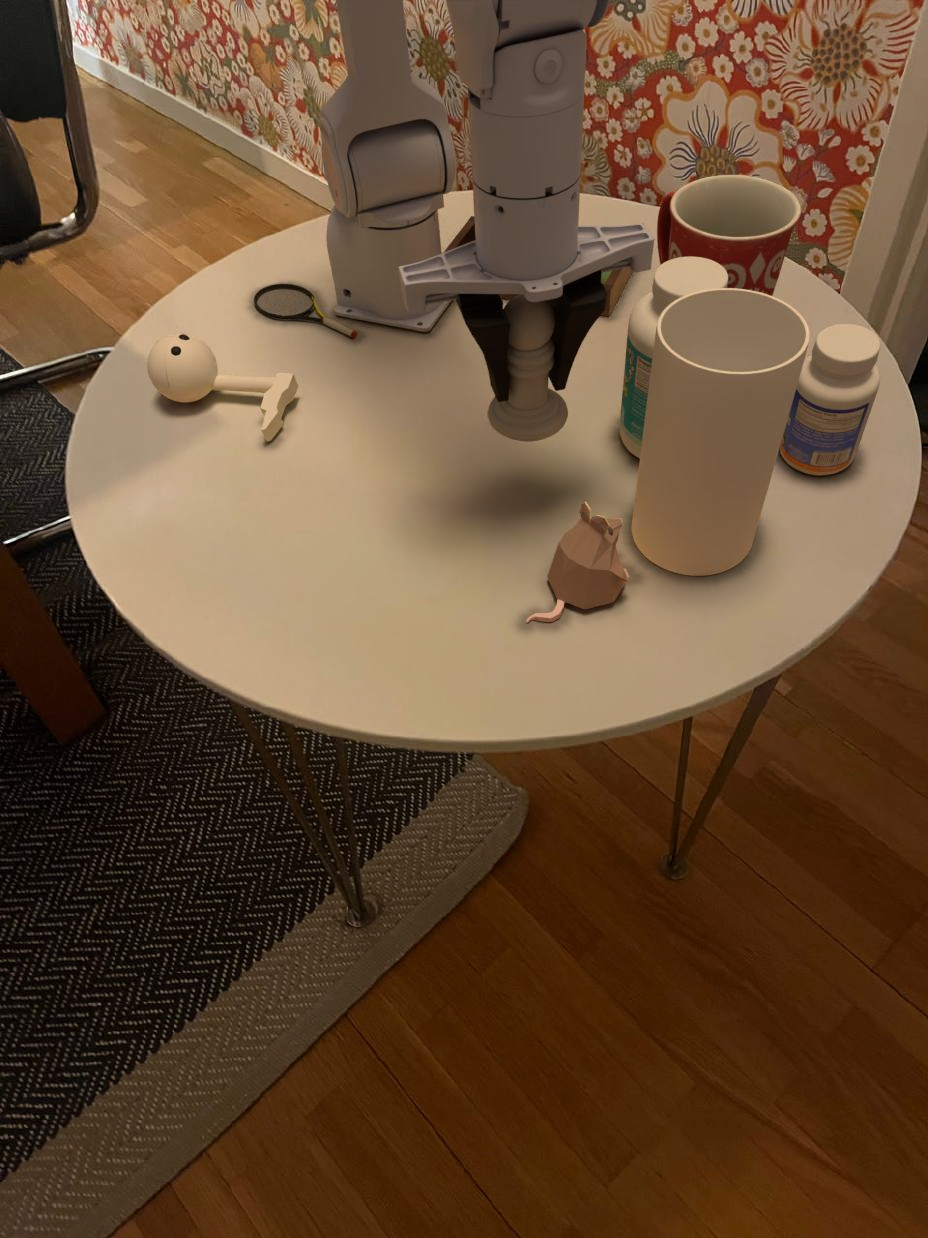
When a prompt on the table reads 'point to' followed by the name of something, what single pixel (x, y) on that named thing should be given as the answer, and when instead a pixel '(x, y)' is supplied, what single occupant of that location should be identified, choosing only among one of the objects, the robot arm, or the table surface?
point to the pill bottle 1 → (667, 287)
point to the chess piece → (529, 375)
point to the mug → (730, 227)
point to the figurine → (213, 378)
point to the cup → (714, 425)
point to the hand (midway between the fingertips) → (527, 386)
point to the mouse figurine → (586, 565)
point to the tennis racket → (301, 315)
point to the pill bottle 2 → (832, 400)
